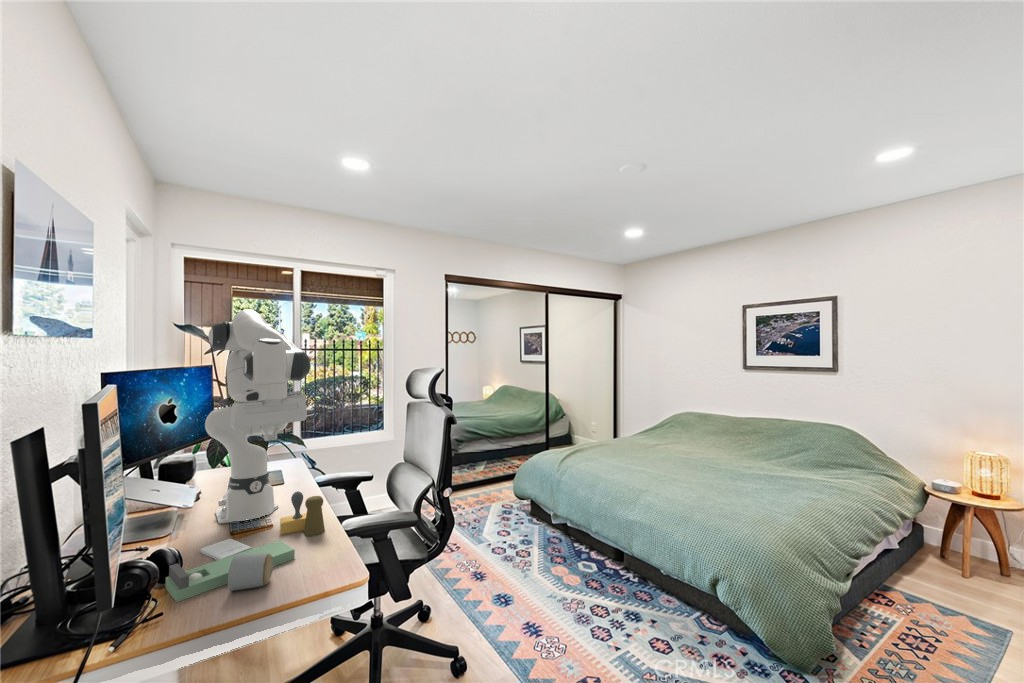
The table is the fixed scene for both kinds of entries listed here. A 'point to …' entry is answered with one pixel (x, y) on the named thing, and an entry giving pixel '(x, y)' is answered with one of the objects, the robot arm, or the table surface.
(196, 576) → the ball
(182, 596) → the putting strip
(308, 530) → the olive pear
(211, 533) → the table surface
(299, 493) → the rubber stamp
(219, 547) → the external hard drive
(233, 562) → the ceramic mug
